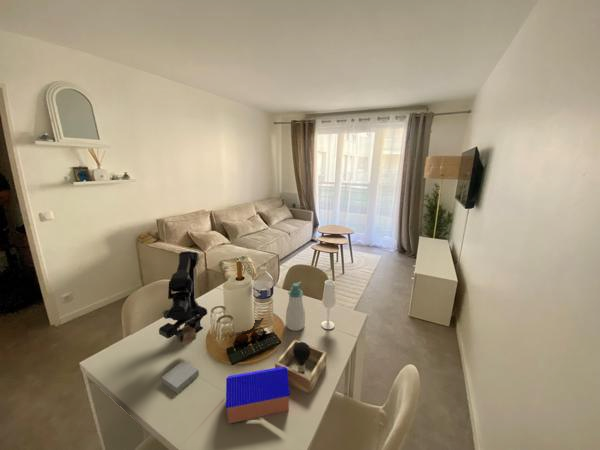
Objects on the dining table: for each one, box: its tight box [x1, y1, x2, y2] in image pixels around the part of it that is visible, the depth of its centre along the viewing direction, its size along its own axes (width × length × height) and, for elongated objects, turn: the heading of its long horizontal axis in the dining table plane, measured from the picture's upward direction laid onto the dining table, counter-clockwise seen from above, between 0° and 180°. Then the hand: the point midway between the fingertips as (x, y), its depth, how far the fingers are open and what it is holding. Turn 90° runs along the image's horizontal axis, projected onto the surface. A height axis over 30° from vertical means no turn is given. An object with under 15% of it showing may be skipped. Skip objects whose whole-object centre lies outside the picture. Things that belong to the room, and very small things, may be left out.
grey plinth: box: [161, 360, 200, 395], centre depth 91 cm, size 9×9×3 cm
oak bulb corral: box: [274, 339, 328, 395], centre depth 95 cm, size 15×15×6 cm
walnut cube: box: [176, 325, 197, 347], centre depth 102 cm, size 5×5×5 cm
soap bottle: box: [285, 281, 306, 332], centre depth 120 cm, size 10×10×23 cm
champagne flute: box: [321, 279, 336, 330], centre depth 120 cm, size 7×7×24 cm
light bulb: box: [293, 341, 310, 373], centre depth 94 cm, size 7×7×12 cm
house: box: [225, 367, 291, 424], centre depth 82 cm, size 12×20×12 cm, turn 102°
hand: (186, 338), depth 102 cm, fingers closed on walnut cube, 5 cm apart
